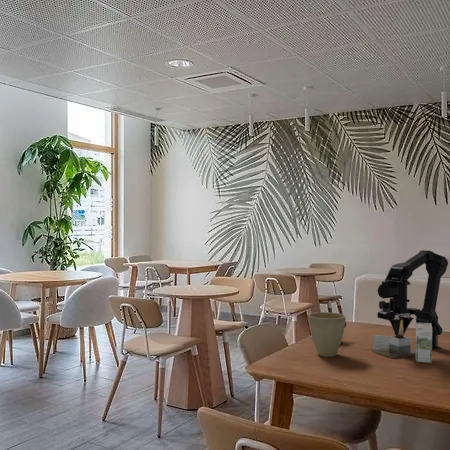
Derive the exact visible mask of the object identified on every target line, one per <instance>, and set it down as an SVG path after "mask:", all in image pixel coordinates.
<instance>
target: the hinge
mask: <svg viewBox="0 0 450 450" xmlns="http://www.w3.org/2000/svg"><path fill="white" fill-rule="evenodd" d="M372 341H373V344H372V345H373V346H372V347H373V348H372V349H371V350H370V351H371V353H375V354H377V355H381V356H383V357H386V358H389V359H392V360H393V359H398V358H399V359H400V358H406V357H413V356H414V357H415V352H416V349H412V347H411V343H412V341H411V337H410V336H405V335H403V338H400V339H399V338H396V335H395V334H393V335H379V334H378V335H377V334H373V340H372Z"/></svg>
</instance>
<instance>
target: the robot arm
mask: <svg viewBox="0 0 450 450" xmlns="http://www.w3.org/2000/svg"><path fill="white" fill-rule="evenodd" d="M422 265H425V270H426V272H427V275H428V277H427V281H426V289H425V294H424V300H423V307H422V309H420V308H416V307H408V303H410V299H409V298H408V286H410V285H411V282H410V281H409V279H410V278H411V277H412V276H413V272H415V271H416V269H418V268H420V267H421V266H422ZM448 265H449V261H448V259H447V258H446V256H443V255H442V254H441V255H440V254H437V253H435V252H433V251H432V250H430V249H429V250H428V249H427V250H426V249H423V250H419V252H418V253H417V254H415V255H413V256H412V257H410V258H409V259H407V260H406V261H404V262H399V263H398V262H397V263H396V264H393V265H391V266H390V269H389V270H388V273H387V275H386V277H385V278H384V279H385V280H382V281H381V284H379V286H378V288H377V295H378V296H379V297H380V298H381V299H389V301H387V302H386V301H385V300H381V301H379V302H378V307H379V309H380V310H378V311H377V316H376V317H377V318H378V319H381V320H385V321H389V323H390V325H391V327H392V330H393V333H394V335H398V333H399V328H400V323H401V319H403V336H405V333H406V331H407V329H408V327H409V325H410V324H411V323H412V321H413V320H415V324H416V323H431V325H432V350H435V349H436V350H437V349H441V346H440V345H439V344H438V343H439V340H438V339H439V336H441V335H442V333H443V327H442V326H441V325H440V323H439V316H438V314H437V311H436V309H437V302H438V295H439V291H440V286H441V285H440V284H441V279H442V276H444V274H445V273H446V272H447V269H448ZM412 315H414V317H415V319H414V317H412ZM399 318H400V319H399Z"/></svg>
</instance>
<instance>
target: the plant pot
mask: <svg viewBox="0 0 450 450" xmlns="http://www.w3.org/2000/svg"><path fill="white" fill-rule="evenodd" d="M346 319H347V315H345V314H344V313H338V312H327V311H325V312H321V311H318V312H311V313H308V322H309V323H308V324H309V329H310V333H311V337H312V341H313V344H314V348H315V350H316V351H315V352H316V353H317V355H318V356H321V357H326V358H327V357H329V358H333V357H336V356H337V354H338V351H339V349H340V346H341V344H342V340H343V336H344V330H345V328H346V327H345V322H346V321H347V320H346ZM344 327H345V328H344Z"/></svg>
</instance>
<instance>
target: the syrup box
mask: <svg viewBox="0 0 450 450" xmlns="http://www.w3.org/2000/svg"><path fill="white" fill-rule="evenodd" d="M415 350H416V352H415V355H414V357H415V362H416V363H423V364H432V362H433V361H432V360H433V358H432V357H433V353H432V352H433V349H432V325H431V323H416V322H415Z"/></svg>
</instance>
